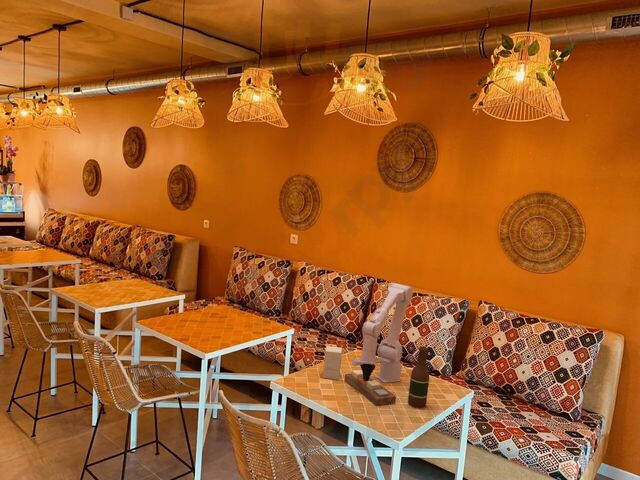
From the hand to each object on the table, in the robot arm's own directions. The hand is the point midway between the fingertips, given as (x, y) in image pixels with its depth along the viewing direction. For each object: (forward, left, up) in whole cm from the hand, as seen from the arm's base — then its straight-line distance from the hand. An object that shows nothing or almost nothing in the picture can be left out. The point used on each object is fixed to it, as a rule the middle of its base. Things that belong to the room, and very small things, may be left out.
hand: (365, 380), depth 208 cm
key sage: (0, +6, -1) cm, 6 cm away
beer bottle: (-13, +19, -4) cm, 23 cm away
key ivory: (0, -6, -1) cm, 6 cm away
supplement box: (+8, -16, -4) cm, 18 cm away
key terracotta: (0, 0, -2) cm, 2 cm away
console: (0, +3, -4) cm, 5 cm away
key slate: (0, +12, -2) cm, 12 cm away
